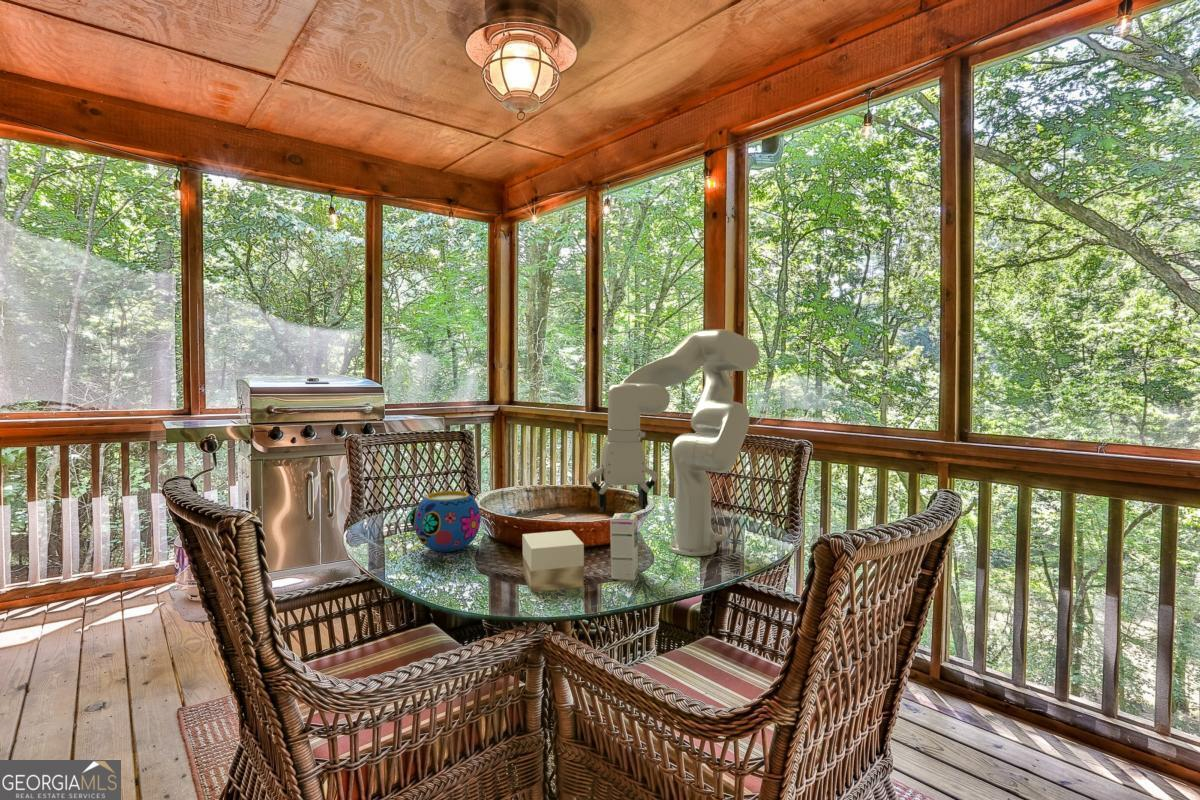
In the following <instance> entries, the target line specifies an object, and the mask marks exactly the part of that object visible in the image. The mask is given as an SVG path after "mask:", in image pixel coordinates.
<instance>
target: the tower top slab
mask: <svg viewBox="0 0 1200 800" xmlns="http://www.w3.org/2000/svg"><path fill="white" fill-rule="evenodd" d="M521 541H522V543H521V544H522V557H523V556H524V558H525V560H526V562H527V564H528V566H529V568H530V569H531V571H538V570H548V569H557V568H567V567H577V566H583V567H584V566H585V547H584V546H585V544H584V542H583V541H582V540H581V539H580V538H579V537H578V536H577V535H576V534H575V533H574V531H572V530H571V529H568V530H558V531H545V532H544V531H542V532H533V533H523V534H522V540H521Z"/></svg>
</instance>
